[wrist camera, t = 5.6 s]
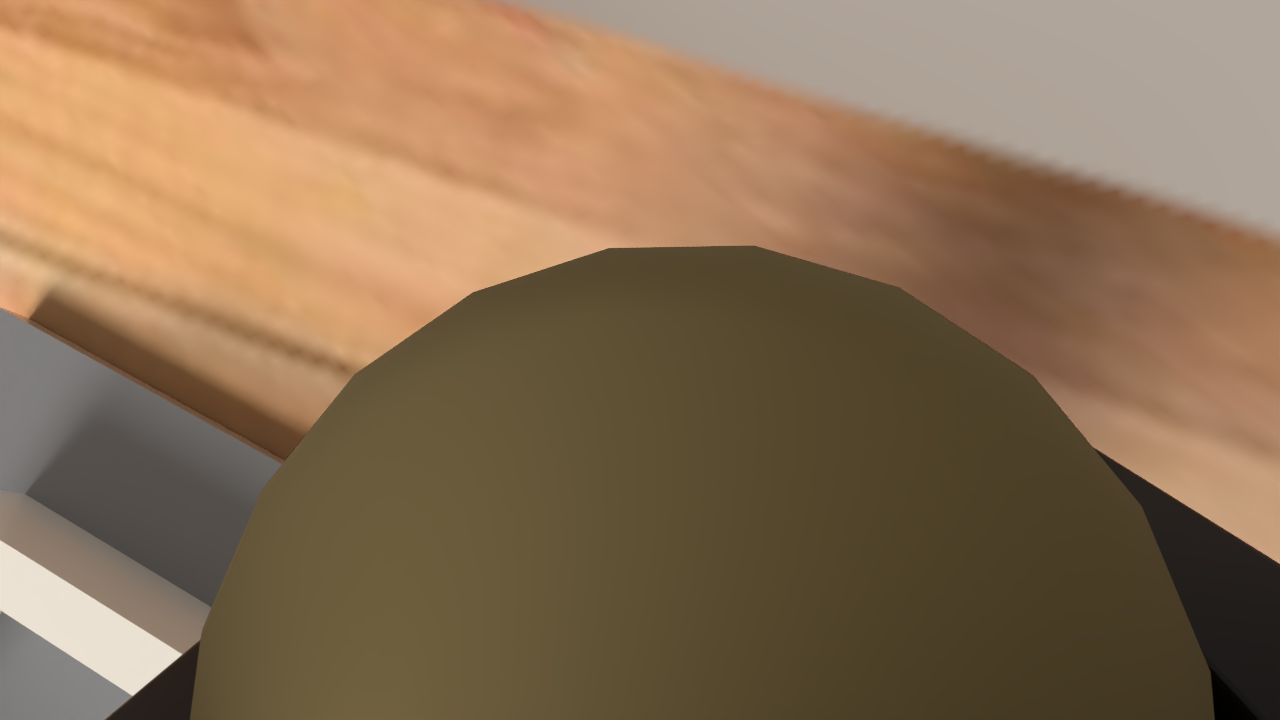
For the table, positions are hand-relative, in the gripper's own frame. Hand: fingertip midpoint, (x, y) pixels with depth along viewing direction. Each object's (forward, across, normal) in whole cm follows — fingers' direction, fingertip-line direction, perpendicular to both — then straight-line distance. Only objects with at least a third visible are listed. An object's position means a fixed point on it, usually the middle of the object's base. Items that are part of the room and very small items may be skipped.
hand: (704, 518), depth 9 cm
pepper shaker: (+4, 0, +6) cm, 7 cm away
